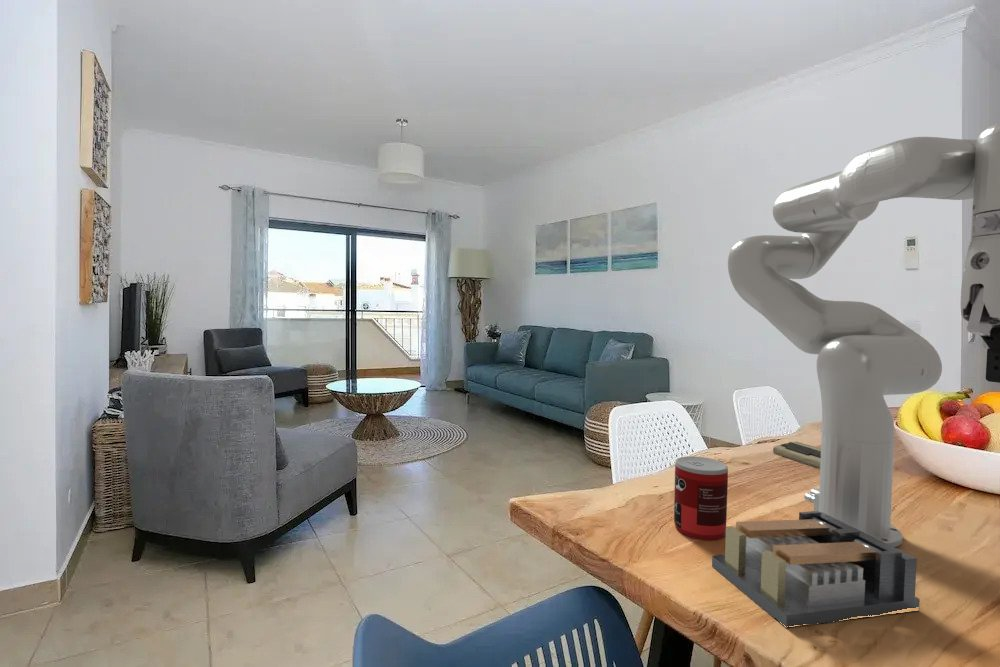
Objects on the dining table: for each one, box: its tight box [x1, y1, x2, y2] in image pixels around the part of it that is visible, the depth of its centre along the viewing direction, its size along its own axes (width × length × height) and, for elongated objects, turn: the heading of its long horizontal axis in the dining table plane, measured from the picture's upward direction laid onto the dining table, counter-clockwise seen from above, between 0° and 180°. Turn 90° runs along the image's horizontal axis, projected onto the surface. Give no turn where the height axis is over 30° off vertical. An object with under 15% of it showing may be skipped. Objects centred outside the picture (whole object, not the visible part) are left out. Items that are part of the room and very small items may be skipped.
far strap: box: [735, 517, 837, 538], centre depth 69 cm, size 4×13×1 cm, turn 101°
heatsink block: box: [711, 510, 921, 627], centre depth 66 cm, size 14×18×7 cm
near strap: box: [773, 539, 882, 565], centre depth 62 cm, size 4×13×1 cm, turn 101°
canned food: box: [673, 455, 729, 541], centre depth 83 cm, size 8×8×11 cm
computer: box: [772, 441, 821, 469], centre depth 121 cm, size 16×8×3 cm, turn 17°
